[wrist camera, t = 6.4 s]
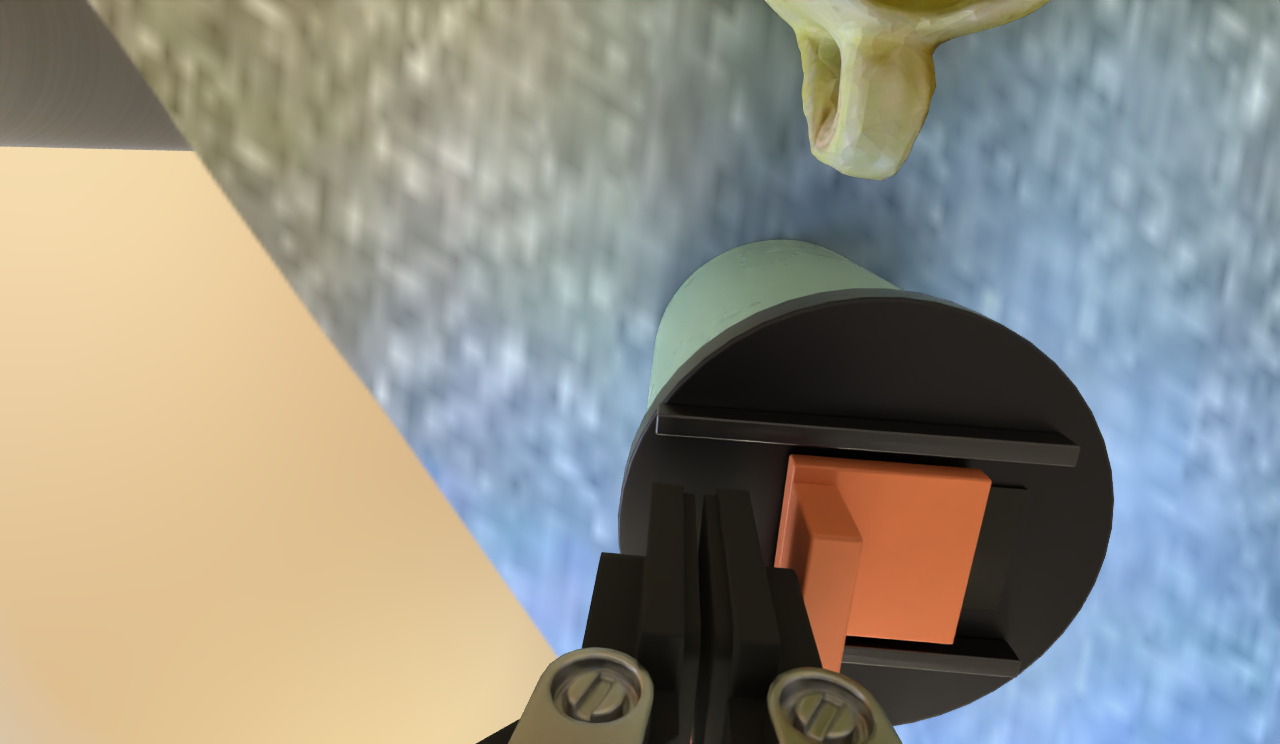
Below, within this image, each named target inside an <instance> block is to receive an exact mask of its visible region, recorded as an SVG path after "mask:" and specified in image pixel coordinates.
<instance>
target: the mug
mask: <svg viewBox="0 0 1280 744" xmlns="http://www.w3.org/2000/svg"><path fill="white" fill-rule="evenodd" d="M764 1H766V2H767V3H768V4H769V5H770V6H771V8H772V9H773V10H774V11H775V12H776V13H777V14H778V15H779V16H780V17H781V18H782V19H784V20H785V21H786V22H787V23H788V24H789V25H790V26H792V28H793V30H794V31H795V34H796V39H797V43H798V47H799V49H800V51H801V60H802V68H803V72H804V80H803V86H802V99H803V112H804V114H805V116H806V118H807V122H808V130H809V141H810V144H811V152H812V154H813V155H814V156H815V157H816V158H817V159H818V160H819V161H821V162H822V163H824V164H826V165H829V166H831V167H833V168H835V169H836V170H838V171H839V172H841V173H842V174H845V175H849V176H852V177H857V178H865V179H873V180H885V179H886V178H888V177H891V176H893V175H895V174H896V173H897V172H898V170H899V169H900V167H901V165H902V164H903V163H904V162H905V160H906V159H907V157H908V155H909V153H910V151H911V149H912V146H913V143H914V141H915V139H916V137H917V136H918V134H919V132H920V130H921V128H922V126H923V124H924V121H925V119H926V117H927V114H928V111H929V106H930V101H931V98H932V96H933V93H934V90H935V87H936V82H935V71H934V63H933V58H932V54H933V53H934V51H935V49H936V48H937V47H938V46H939V45H940V44H942V43H944V42H946V41H948V40H950V39H953V38H956V37H960V36H964V35H967V34H971V33H975V32H979V31H982V30H986V29H990V28H993V27H996V26H999V25H1003V24H1006V23H1009V22H1012V21H1014V20H1017V19H1019V18H1021V17H1024V16H1026V15H1029V14H1031V13H1032V12H1034V11H1035V10H1037V9H1038V8H1040V7H1041V6H1043V5H1044V4H1046V3H1047V2H1049V1H1050V0H764Z"/></svg>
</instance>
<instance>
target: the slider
mask: <svg viewBox="0 0 1280 744" xmlns="http://www.w3.org/2000/svg"><path fill="white" fill-rule="evenodd" d="M990 487H991V479H990V478H989V477H988V476H987V475H986V474H985V473H984V472H983V471H982V470H981V469H975V468H963V467H950V466H937V465H924V464H911V463H898V462H885V461H873V460H860V459H847V458H834V457H821V456H808V455H796V454H791V455H790V457H789V463H788V470H787V477H786V484H785V492H784V499H783V506H782V513H781V520H780V527H779V535H778V542H777V549H776V556H775V563H774V567H777V568H789V569H793V570H795V573H796V575H797V578H798V582H799V585H800V589H801V593H802V596H803V600H804V603H805V607H806V610H807V614H808V617H809V621H810V624H811V628H812V631H813V635H814V638H815V642H816V645H817V649H818V652H819V656H820V659H821V663H822V666H823V668H824V669H828V670H831V671H834V672H837V673H839V672H840V666H841V661H842V655H843V650H844V645H845V639H846V635H849V636H861V637H873V638H884V639H896V640H907V641H919V642H931V643H942V644H953V641H954V637H955V633H956V629H957V624H958V620H959V616H960V612H961V608H962V604H963V599H964V595H965V591H966V587H967V583H968V579H969V574H970V570H971V566H972V562H973V558H974V554H975V549H976V545H977V541H978V537H979V533H980V529H981V524H982V520H983V516H984V512H985V508H986V504H987V499H988V495H989V491H990Z"/></svg>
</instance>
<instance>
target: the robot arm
mask: <svg viewBox="0 0 1280 744" xmlns="http://www.w3.org/2000/svg"><path fill="white" fill-rule="evenodd" d="M690 742H691V744H902V742H901V740H900V738H899V737H898V735H897V733H896V731H895V729H894V728H893V726H892V724H891V722H890V720H889V719H888V717H887V715H886V713H885V712H884V710H883V708H882V707H881V705H880V704H879V703H878V701H877V700H876V699H875V697H874V696H873V695H872V694H871V693H870V692H869V691H868V690H867V689H865V688H864V687H863V686H862V685H860V684H859V683H858V682H856V681H854V680H852V679H850V678H849V677H847V676H845V675H843V674H841V673H837V672H834V671H831V670H828V669H824V668H823V666H822V663H821V659H820V656H819V652H818V649H817V645H816V642H815V638H814V635H813V631H812V628H811V624H810V621H809V617H808V614H807V610H806V607H805V603H804V600H803V596H802V593H801V589H800V585H799V582H798V578H797V575H796V573H795V570H793V569H789V568H777V567H766V566H765V565H764V560H763V555H762V550H761V546H760V541H759V536H758V532H757V527H756V522H755V517H754V513H753V508H752V503H751V499H750V494H749V491H748V490H740V489H728V488H717V489H716V493H715V496H713V495H704V499H703V507H702V517H701V527H700V536H699V546H698V551H697V529H696V507H695V494H689V493H683V485H680V484H668V483H656V482H652V494H651V506H650V517H649V529H648V541H647V552H646V556H639V555H628V554H616V553H605V552H602V553H601V556H600V561H599V566H598V571H597V576H596V581H595V585H594V590H593V595H592V600H591V605H590V610H589V615H588V620H587V625H586V630H585V635H584V640H583V645H582V649H577V650H574V651H572V652H569V653H566V654H564V655H562V656H560V657H559V658H557V659H556V660H555V661H553V662H552V663H550V664H549V666H548V667H547V668H546V670H545V671H544V672H543V674H542V675H541V677H540V679H539V681H538V683H537V685H536V687H535V689H534V691H533V693H532V695H531V697H530V700H529V702H528V704H527V706H526V708H525V710H524V712H523V714H522V716H521V718H520V719H519V720H517V721H515V722H514V723H512V724H510V725H508V726H506V727H505V728H503V729H501V730H499V731H498V732H496V733H494V734H492V735H490V736H489V737H487V738H485V739H484V740H482V741H480V742H478V743H476V744H690Z"/></svg>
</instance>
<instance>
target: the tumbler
mask: <svg viewBox="0 0 1280 744" xmlns="http://www.w3.org/2000/svg"><path fill="white" fill-rule="evenodd" d="M791 454H796V455H808V456H821V457H834V458H847V459H860V460H873V461H885V462H898V463H911V464H924V465H937V466H950V467H963V468H975V469H981V470H982V471H983V472H984V473H985V474H986V475H987V476H988V477H989V478H990V479H991V487H990V491H989V495H988V499H987V504H986V508H985V512H984V516H983V520H982V524H981V529H980V533H979V537H978V541H977V545H976V549H975V554H974V558H973V562H972V566H971V570H970V574H969V579H968V583H967V587H966V591H965V595H964V599H963V604H962V608H961V612H960V616H959V620H958V624H957V629H956V633H955V637H954V641H953V644H942V643H931V642H919V641H907V640H896V639H884V638H873V637H861V636H849V635H846V639H845V645H844V650H843V655H842V661H841V666H840V672H839V673H841V674H843V675H845V676H847V677H849V678H850V679H852V680H854V681H856V682H858V683H859V684H860V685H862V686H863V687H864V688H865V689H867V690H868V691H869V692H870V693H871V694H872V695H873V696H874V697H875V699H876V700H877V701H878V703H879V704H880V705H881V707H882V708H883V710H884V712H885V713H886V715H887V717H888V719H889V720H890V722H891V724H892V726H896V725H902V724H908V723H913V722H917V721H921V720H924V719H928V718H932V717H935V716H939V715H942V714H945V713H947V712H950V711H952V710H955V709H957V708H960V707H963V706H965V705H968V704H970V703H972V702H974V701H976V700H978V699H980V698H981V697H983V696H985V695H987V694H989V693H991V692H993V691H995V690H997V689H998V688H1000V687H1001V686H1003V685H1004V684H1006V683H1007V682H1009V681H1010V680H1012V679H1013V678H1016V677H1017V676H1018V675H1019V674H1021V673H1022V672H1023V671H1024V670H1025V669H1027V668H1028V667H1029V666H1030V665H1031V664H1033V663H1034V662H1035V661H1036V660H1037V659H1038V658H1040V657H1041V656H1042V655H1043V654H1044V653H1045V652H1046V651H1047V650H1048V649H1049V648H1050V647H1051V646H1052V645H1053V644H1054V642H1055V641H1056V640H1057V639H1058V638H1059V637H1060V636H1061V635H1062V634H1063V633H1064V632H1065V630H1066V629H1067V627H1068V626H1069V625H1070V623H1071V622H1072V621H1073V619H1074V618H1075V617H1076V615H1077V614H1078V612H1079V611H1080V610H1081V608H1082V606H1083V604H1084V603H1085V601H1086V599H1087V597H1088V595H1089V593H1090V592H1091V590H1092V588H1093V586H1094V584H1095V582H1096V579H1097V577H1098V574H1099V572H1100V569H1101V567H1102V564H1103V561H1104V559H1105V556H1106V551H1107V547H1108V543H1109V538H1110V534H1111V530H1112V518H1113V505H1114V494H1113V482H1112V470H1111V466H1110V462H1109V458H1108V454H1107V450H1106V446H1105V442H1104V439H1103V437H1102V434H1101V432H1100V429H1099V427H1098V425H1097V422H1096V420H1095V418H1094V415H1093V413H1092V411H1091V410H1090V408H1089V406H1088V405H1087V403H1086V402H1085V400H1084V398H1083V397H1082V395H1081V394H1080V392H1079V391H1078V389H1077V387H1076V386H1075V385H1074V384H1073V382H1072V381H1071V380H1070V379H1069V378H1068V377H1067V376H1066V374H1065V373H1064V372H1063V371H1062V370H1061V369H1060V368H1059V367H1058V365H1057V364H1056V363H1055V362H1054V361H1053V360H1051V359H1050V358H1049V357H1048V356H1047V355H1045V354H1044V353H1043V352H1042V351H1041V350H1039V349H1038V348H1037V347H1036V346H1035V345H1033V344H1032V343H1031V342H1030V341H1028V340H1026V339H1025V338H1023V337H1022V336H1020V335H1018V334H1017V333H1015V332H1013V331H1012V330H1010V329H1008V328H1007V327H1005V326H1004V325H1002V324H1000V323H998V322H996V321H994V320H992V319H990V318H988V317H986V316H984V315H982V314H980V313H977V312H975V311H973V310H970V309H968V308H966V307H963V306H961V305H959V304H956V303H954V302H952V301H948V300H944V299H941V298H937V297H933V296H930V295H926V294H922V293H918V292H910V291H904V290H902V289H900V288H899V287H897V286H895V285H893V284H892V283H890V282H888V281H886V280H884V279H883V278H881V277H879V276H877V275H875V274H874V273H872V272H870V271H868V270H867V269H865V268H863V267H861V266H859V265H858V264H856V263H854V262H852V261H851V260H849V259H847V258H845V257H843V256H842V255H840V254H838V253H836V252H834V251H832V250H829V249H827V248H825V247H822V246H819V245H815V244H812V243H808V242H803V241H796V240H765V241H758V242H753V243H749V244H745V245H742V246H738V247H736V248H733V249H731V250H729V251H726V252H724V253H722V254H720V255H718V256H717V257H715V258H713V259H711V260H710V261H708V262H707V263H706V264H704V265H703V266H702V267H700V268H699V269H697V270H696V271H695V272H694V273H693V274H692V275H691V276H690V277H689V278H688V279H687V280H686V281H685V282H684V283H683V284H682V286H681V287H680V288H679V289H678V291H677V292H676V293H675V294H674V296H673V298H672V299H671V301H670V303H669V304H668V306H667V308H666V310H665V312H664V315H663V317H662V319H661V322H660V325H659V328H658V332H657V335H656V341H655V348H654V355H653V363H652V372H651V380H650V388H649V396H648V404H647V412H646V414H645V416H644V418H643V420H642V422H641V424H640V427H639V429H638V431H637V433H636V436H635V438H634V440H633V442H632V446H631V450H630V453H629V457H628V460H627V464H626V467H625V472H624V478H623V484H622V490H621V498H620V505H619V513H618V537H619V549H620V554H628V555H639V556H646V552H647V541H648V529H649V517H650V506H651V494H652V482H656V483H668V484H680V485H683V493H689V494H695V507H696V529H697V551H698V546H699V536H700V527H701V517H702V507H703V499H704V495H713V496H715V493H716V489H717V488H728V489H740V490H748V491H749V494H750V499H751V503H752V508H753V513H754V517H755V522H756V527H757V532H758V536H759V541H760V546H761V550H762V555H763V560H764V565H765V566H766V567H774V563H775V556H776V549H777V542H778V535H779V527H780V520H781V513H782V506H783V499H784V492H785V484H786V477H787V470H788V463H789V457H790V455H791Z"/></svg>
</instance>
